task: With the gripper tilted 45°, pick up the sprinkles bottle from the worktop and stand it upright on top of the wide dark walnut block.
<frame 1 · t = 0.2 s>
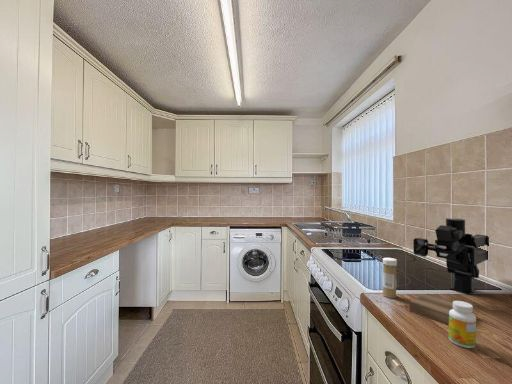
hand: (430, 254, 88), 17 cm above the worktop, tool horizontal, fingers open, 9 cm apart
supplement bottle: (461, 343, 66), on the worktop
sprinkles bottle: (389, 296, 95), on the worktop
walnut block: (439, 313, 81), on the worktop
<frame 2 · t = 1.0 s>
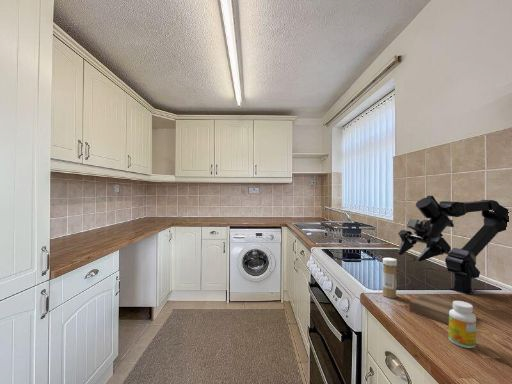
hand: (408, 257, 96), 14 cm above the worktop, tool tilted 45°, fingers open, 9 cm apart
nothing on the worktop moved.
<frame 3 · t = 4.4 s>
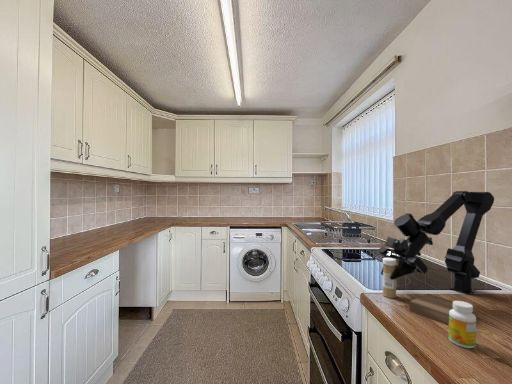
hand: (386, 276, 94), 7 cm above the worktop, tool tilted 45°, fingers closed on sprinkles bottle, 4 cm apart
sprinkles bottle: (389, 296, 95), on the worktop, touching gripper
everything else where it was.
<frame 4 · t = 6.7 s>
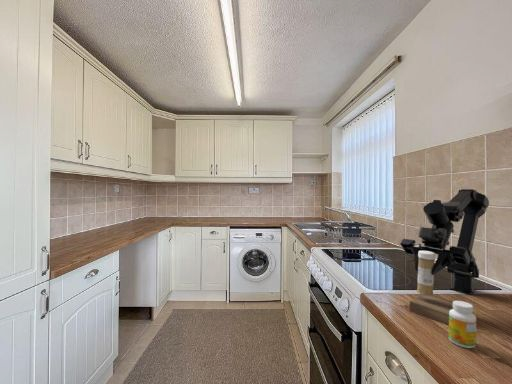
hand: (424, 272, 83), 12 cm above the worktop, tool tilted 45°, fingers closed on sprinkles bottle, 4 cm apart
sprinkles bottle: (424, 293, 84), point 5 cm above the worktop, touching gripper
everything else where it was.
when the fingers open (10 cm above the worktop, at t = 8.9 s): sprinkles bottle stays where it is, resting on walnut block.
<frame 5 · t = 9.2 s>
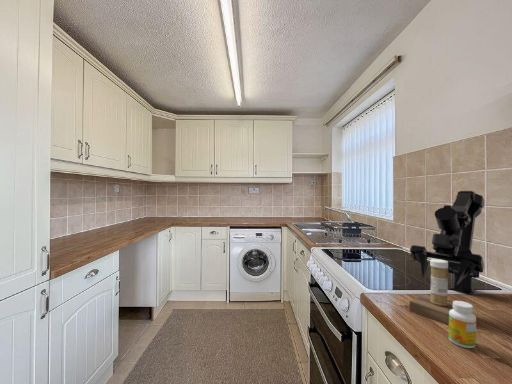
hand: (438, 280, 80), 11 cm above the worktop, tool tilted 45°, fingers open, 8 cm apart
sprinkles bottle: (438, 304, 82), point 3 cm above the worktop, touching walnut block
everything else where it was.
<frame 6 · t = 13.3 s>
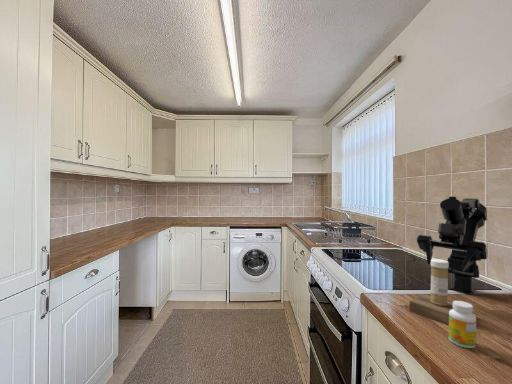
hand: (444, 267, 85), 13 cm above the worktop, tool tilted 45°, fingers open, 9 cm apart
nothing on the worktop moved.
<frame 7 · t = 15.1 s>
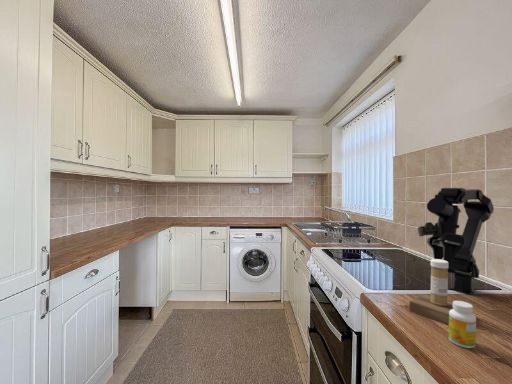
hand: (440, 264, 92), 12 cm above the worktop, tool tilted 20°, fingers open, 9 cm apart
nothing on the worktop moved.
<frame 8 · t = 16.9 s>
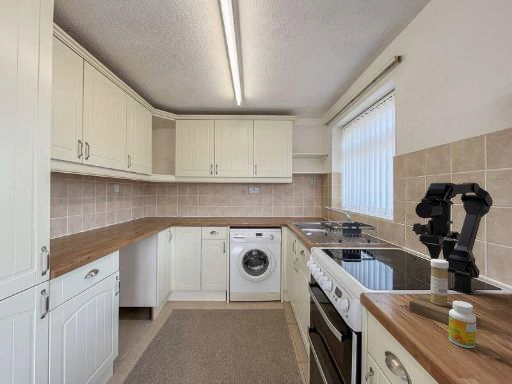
hand: (439, 260, 95), 13 cm above the worktop, tool pointing down, fingers open, 9 cm apart
nothing on the worktop moved.
at the end: sprinkles bottle inside the target area on the walnut block (0.4 cm from its centre), point 2.8 cm above the walnut block's base; sprinkles bottle tilted 0°; the gripper is holding nothing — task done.
